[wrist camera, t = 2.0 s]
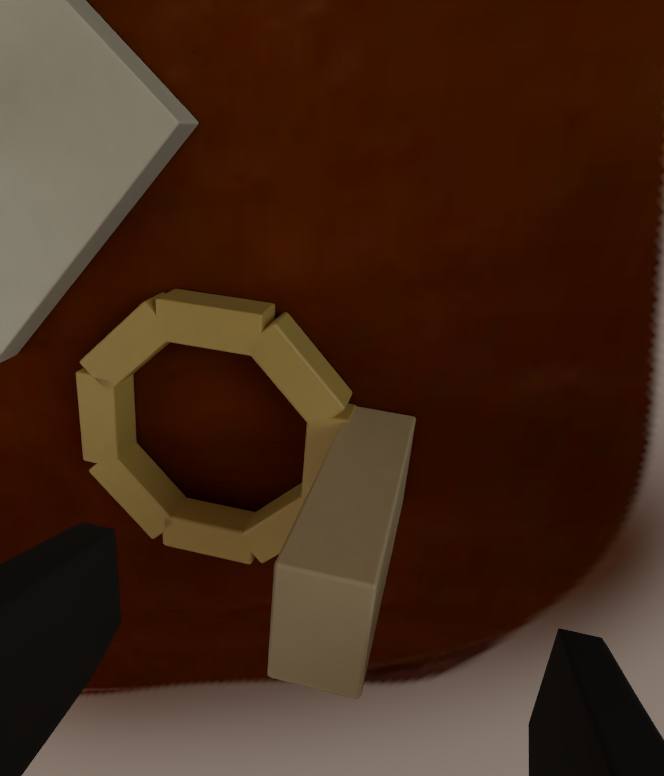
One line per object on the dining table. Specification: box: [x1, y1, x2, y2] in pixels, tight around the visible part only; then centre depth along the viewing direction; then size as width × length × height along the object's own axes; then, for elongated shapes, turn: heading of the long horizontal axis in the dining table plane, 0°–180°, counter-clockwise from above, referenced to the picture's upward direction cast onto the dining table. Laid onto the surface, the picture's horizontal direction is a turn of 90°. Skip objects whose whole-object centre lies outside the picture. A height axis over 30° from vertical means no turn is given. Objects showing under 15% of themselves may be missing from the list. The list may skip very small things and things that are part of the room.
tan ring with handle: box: [76, 289, 416, 699], centre depth 13 cm, size 8×7×6 cm
